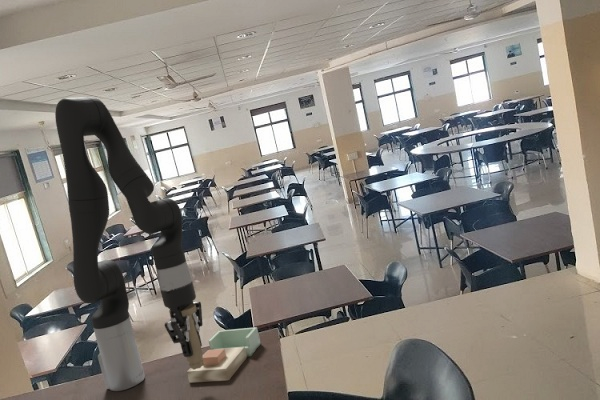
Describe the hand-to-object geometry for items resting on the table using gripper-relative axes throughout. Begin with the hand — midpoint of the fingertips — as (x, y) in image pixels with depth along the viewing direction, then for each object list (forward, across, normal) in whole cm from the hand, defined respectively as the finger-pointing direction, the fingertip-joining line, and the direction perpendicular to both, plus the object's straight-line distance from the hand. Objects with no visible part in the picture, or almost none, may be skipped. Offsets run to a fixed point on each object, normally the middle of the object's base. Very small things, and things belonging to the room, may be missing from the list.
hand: (193, 351), depth 122 cm
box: (+10, -20, 0) cm, 22 cm away
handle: (+4, 0, 0) cm, 4 cm away
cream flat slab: (+10, -10, 0) cm, 14 cm away
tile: (+7, -9, 0) cm, 11 cm away
